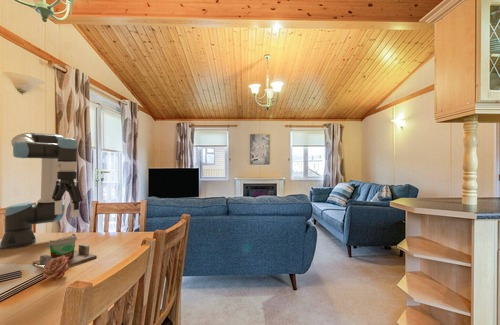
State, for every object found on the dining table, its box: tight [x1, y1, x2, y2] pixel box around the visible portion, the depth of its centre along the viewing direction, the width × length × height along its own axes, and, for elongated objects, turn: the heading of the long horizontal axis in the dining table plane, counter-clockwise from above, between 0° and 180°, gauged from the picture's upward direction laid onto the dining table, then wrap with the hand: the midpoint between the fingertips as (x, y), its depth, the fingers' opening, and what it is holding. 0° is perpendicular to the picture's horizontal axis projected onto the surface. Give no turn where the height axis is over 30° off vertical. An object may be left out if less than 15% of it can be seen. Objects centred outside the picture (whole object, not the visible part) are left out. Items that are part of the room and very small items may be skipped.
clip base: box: [32, 243, 98, 268], centre depth 118 cm, size 18×18×5 cm
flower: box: [42, 255, 70, 281], centre depth 101 cm, size 10×9×8 cm
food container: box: [48, 233, 78, 259], centre depth 118 cm, size 12×6×10 cm, turn 166°
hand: (66, 215), depth 119 cm, fingers open, 13 cm apart
